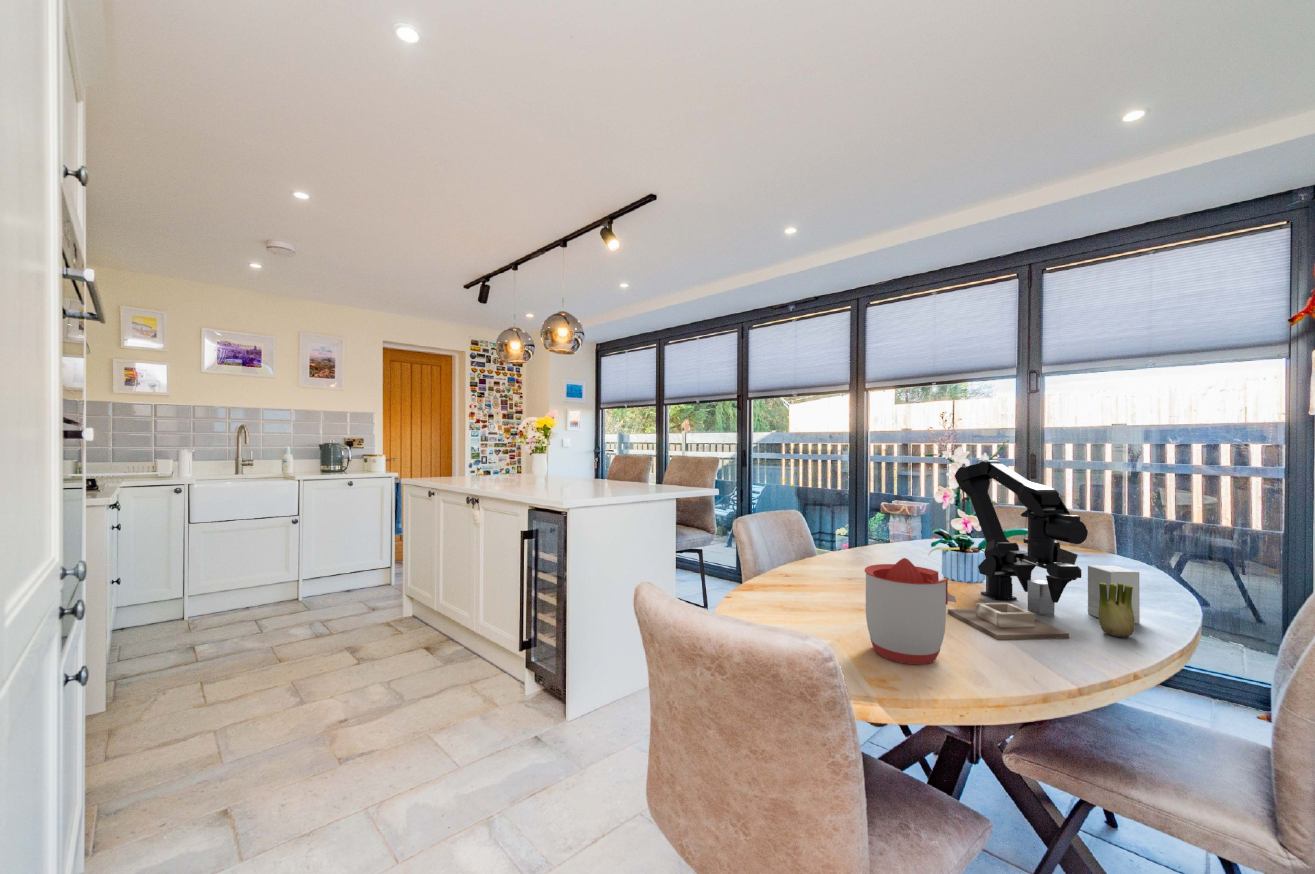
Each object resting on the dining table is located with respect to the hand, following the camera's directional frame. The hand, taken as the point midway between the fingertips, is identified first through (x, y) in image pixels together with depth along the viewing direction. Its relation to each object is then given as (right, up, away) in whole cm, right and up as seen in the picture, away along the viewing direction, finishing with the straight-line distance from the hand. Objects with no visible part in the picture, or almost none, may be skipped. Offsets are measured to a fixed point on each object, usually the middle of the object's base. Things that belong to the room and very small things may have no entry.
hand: (1040, 596), depth 138 cm
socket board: (-15, -4, -9) cm, 18 cm away
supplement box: (+15, -4, -4) cm, 16 cm away
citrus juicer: (-47, -4, -28) cm, 55 cm away
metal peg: (0, -4, 0) cm, 4 cm away
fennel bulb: (+6, -4, -16) cm, 17 cm away
